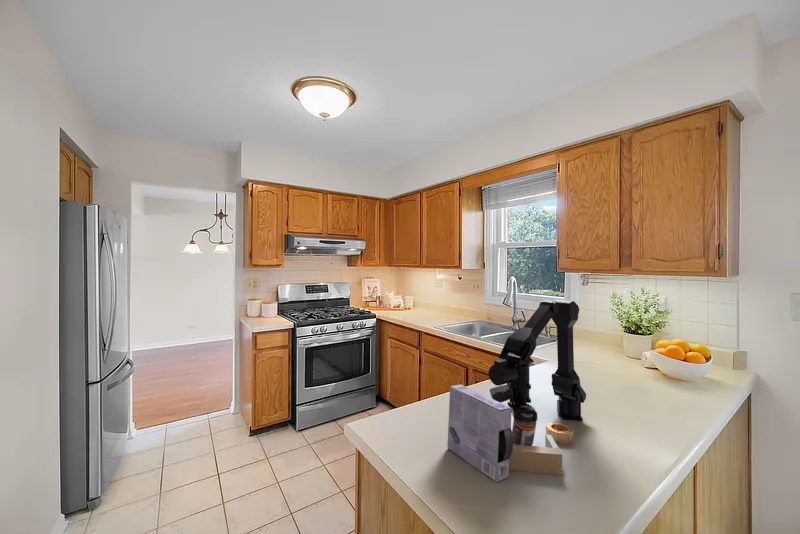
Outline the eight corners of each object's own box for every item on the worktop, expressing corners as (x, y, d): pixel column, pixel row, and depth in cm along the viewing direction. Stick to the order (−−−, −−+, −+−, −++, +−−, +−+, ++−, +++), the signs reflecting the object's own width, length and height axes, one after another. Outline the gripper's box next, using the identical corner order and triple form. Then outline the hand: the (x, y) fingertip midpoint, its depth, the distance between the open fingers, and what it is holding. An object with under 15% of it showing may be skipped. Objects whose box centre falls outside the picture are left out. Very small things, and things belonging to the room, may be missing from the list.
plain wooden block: (551, 447, 96) (551, 429, 96) (566, 475, 83) (566, 455, 83) (492, 442, 98) (493, 425, 98) (498, 469, 85) (499, 449, 85)
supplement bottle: (507, 433, 100) (511, 403, 95) (526, 430, 100) (531, 401, 96) (516, 451, 94) (520, 420, 90) (537, 448, 95) (542, 417, 90)
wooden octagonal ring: (567, 433, 104) (567, 423, 104) (575, 444, 97) (575, 434, 97) (544, 431, 105) (544, 421, 105) (550, 442, 98) (550, 432, 98)
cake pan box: (514, 479, 81) (514, 406, 81) (500, 486, 78) (500, 411, 78) (459, 443, 97) (459, 382, 97) (446, 449, 95) (446, 386, 95)
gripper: (488, 368, 111) (488, 415, 112) (495, 388, 93) (495, 445, 93) (523, 369, 110) (523, 417, 110) (538, 390, 91) (537, 448, 91)
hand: (519, 430), depth 101 cm, fingers closed
